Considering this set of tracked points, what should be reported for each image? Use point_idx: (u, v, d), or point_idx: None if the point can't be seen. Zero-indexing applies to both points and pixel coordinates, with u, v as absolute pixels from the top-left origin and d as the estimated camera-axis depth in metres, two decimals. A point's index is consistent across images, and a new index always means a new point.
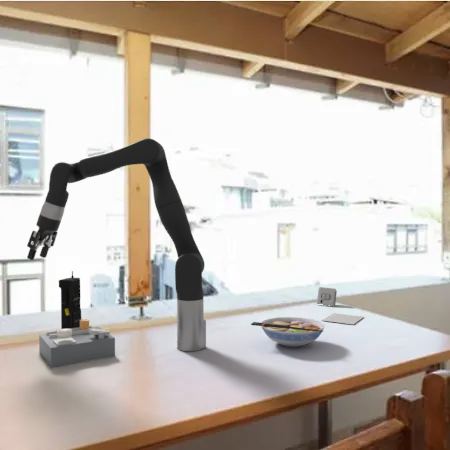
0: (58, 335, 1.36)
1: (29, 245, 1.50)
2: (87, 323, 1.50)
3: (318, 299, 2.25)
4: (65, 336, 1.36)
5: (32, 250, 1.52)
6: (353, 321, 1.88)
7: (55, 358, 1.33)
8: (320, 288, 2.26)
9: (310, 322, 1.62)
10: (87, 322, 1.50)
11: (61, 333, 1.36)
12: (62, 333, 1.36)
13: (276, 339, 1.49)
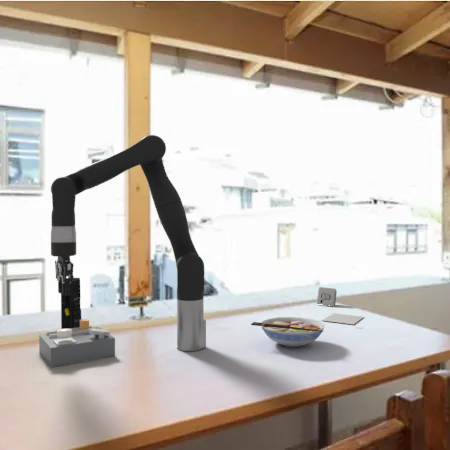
0: (58, 335, 1.36)
1: (67, 280, 1.33)
2: (87, 323, 1.50)
3: (318, 299, 2.25)
4: (65, 336, 1.36)
5: (68, 284, 1.35)
6: (353, 321, 1.88)
7: (55, 358, 1.33)
8: (320, 288, 2.26)
9: (310, 322, 1.62)
10: (87, 322, 1.50)
11: (61, 333, 1.36)
12: (62, 333, 1.36)
13: (276, 339, 1.49)
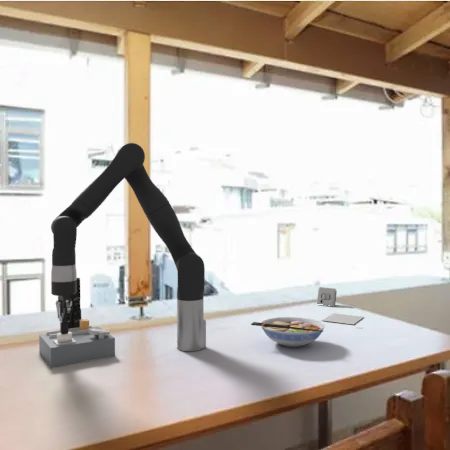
0: (58, 338, 1.36)
1: (65, 319, 1.35)
2: (87, 323, 1.50)
3: (318, 299, 2.25)
4: (65, 339, 1.36)
5: (66, 323, 1.37)
6: (353, 321, 1.88)
7: (55, 358, 1.33)
8: (320, 288, 2.26)
9: (310, 322, 1.62)
10: (87, 322, 1.50)
11: (61, 336, 1.36)
12: (62, 336, 1.36)
13: (276, 339, 1.49)
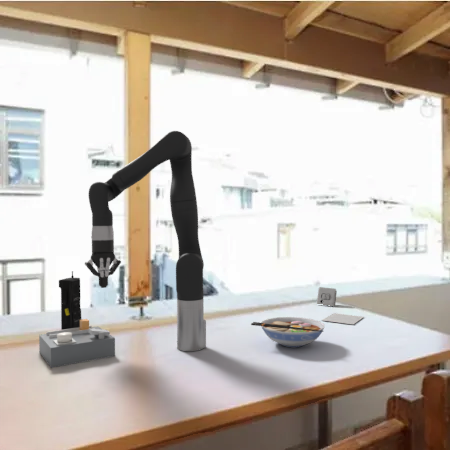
0: (58, 339, 1.36)
1: (94, 273, 1.53)
2: (87, 323, 1.50)
3: (318, 299, 2.25)
4: (65, 340, 1.36)
5: (99, 278, 1.54)
6: (353, 321, 1.88)
7: (55, 358, 1.33)
8: (320, 288, 2.26)
9: (310, 322, 1.62)
10: (87, 322, 1.50)
11: (61, 337, 1.36)
12: (62, 337, 1.36)
13: (276, 339, 1.49)
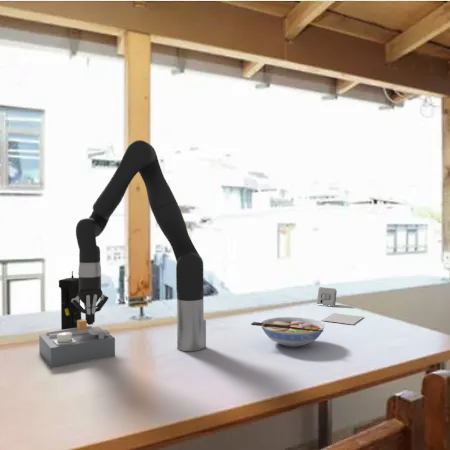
0: (58, 339, 1.36)
1: None
2: (84, 323, 1.50)
3: (318, 299, 2.25)
4: (65, 340, 1.36)
5: (86, 315, 1.52)
6: (353, 321, 1.88)
7: (55, 358, 1.33)
8: (320, 288, 2.26)
9: (310, 322, 1.62)
10: (84, 322, 1.50)
11: (61, 337, 1.36)
12: (62, 337, 1.36)
13: (276, 339, 1.49)
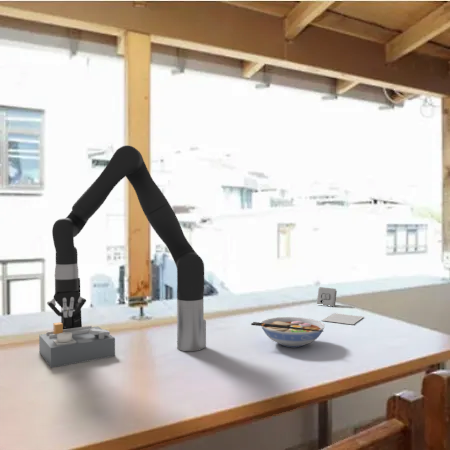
0: (58, 339, 1.36)
1: None
2: (61, 327, 1.46)
3: (318, 299, 2.25)
4: (65, 340, 1.36)
5: (63, 318, 1.47)
6: (353, 321, 1.88)
7: (55, 358, 1.33)
8: (320, 288, 2.26)
9: (310, 322, 1.62)
10: (61, 326, 1.46)
11: (61, 337, 1.36)
12: (62, 337, 1.36)
13: (276, 339, 1.49)
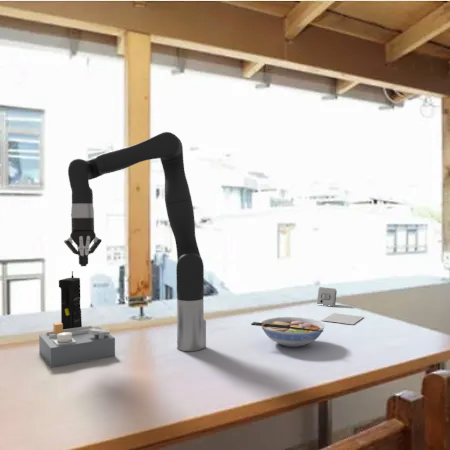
0: (58, 339, 1.36)
1: None
2: (61, 327, 1.46)
3: (318, 299, 2.25)
4: (65, 340, 1.36)
5: (79, 256, 1.52)
6: (353, 321, 1.88)
7: (55, 358, 1.33)
8: (320, 288, 2.26)
9: (310, 322, 1.62)
10: (61, 326, 1.46)
11: (61, 337, 1.36)
12: (62, 337, 1.36)
13: (276, 339, 1.49)
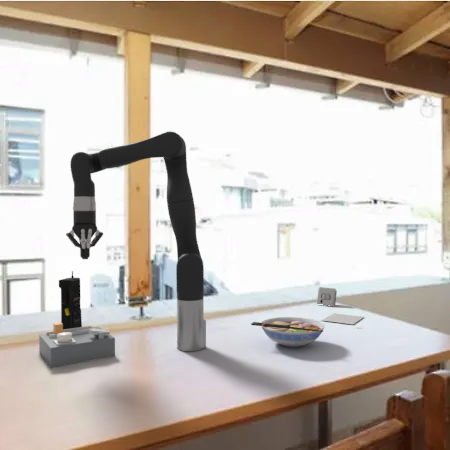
0: (58, 339, 1.36)
1: (75, 244, 1.52)
2: (61, 327, 1.46)
3: (318, 299, 2.25)
4: (65, 340, 1.36)
5: (81, 249, 1.52)
6: (353, 321, 1.88)
7: (55, 358, 1.33)
8: (320, 288, 2.26)
9: (310, 322, 1.62)
10: (61, 326, 1.46)
11: (61, 337, 1.36)
12: (62, 337, 1.36)
13: (276, 339, 1.49)
